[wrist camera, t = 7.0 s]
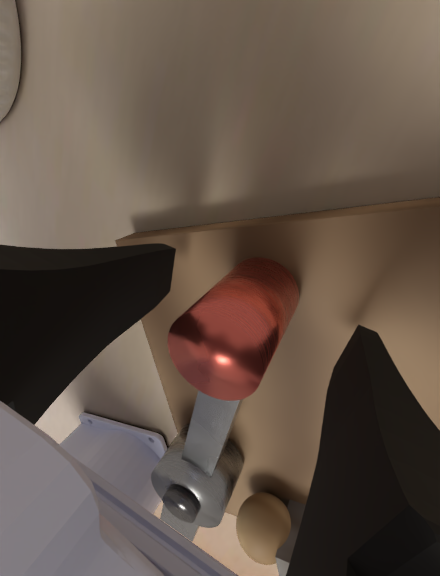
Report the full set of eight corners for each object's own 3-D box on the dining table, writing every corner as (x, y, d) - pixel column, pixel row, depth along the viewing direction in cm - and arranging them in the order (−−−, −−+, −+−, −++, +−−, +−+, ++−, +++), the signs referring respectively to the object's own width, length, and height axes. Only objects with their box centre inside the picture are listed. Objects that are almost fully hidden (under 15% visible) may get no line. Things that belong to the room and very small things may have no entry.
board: (209, 483, 24) (176, 549, 20) (134, 232, 16) (61, 261, 13) (446, 566, 17) (466, 693, 13) (494, 190, 9) (572, 226, 6)
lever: (224, 508, 21) (189, 591, 17) (170, 472, 22) (126, 542, 18) (330, 280, 11) (303, 355, 7) (223, 239, 12) (152, 285, 8)
